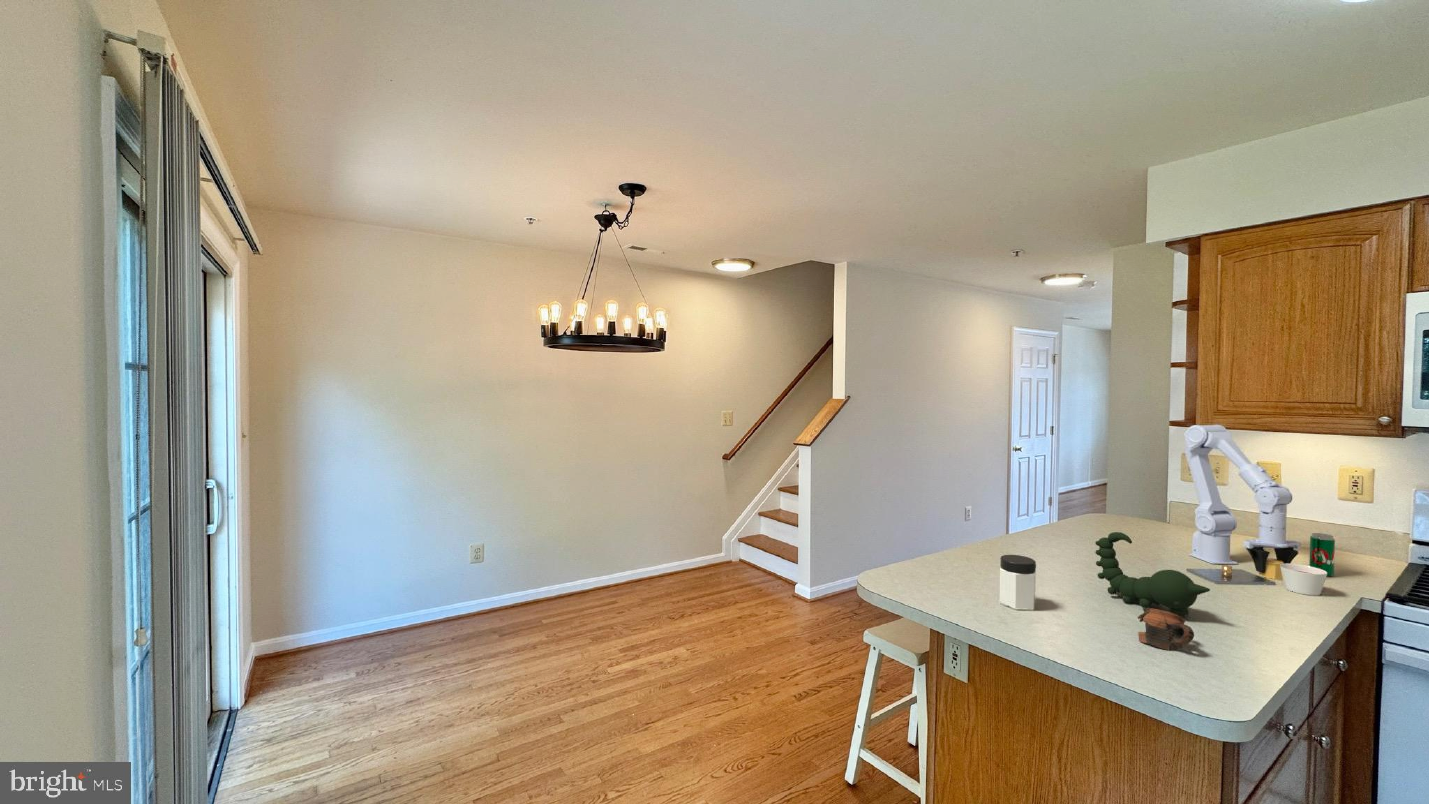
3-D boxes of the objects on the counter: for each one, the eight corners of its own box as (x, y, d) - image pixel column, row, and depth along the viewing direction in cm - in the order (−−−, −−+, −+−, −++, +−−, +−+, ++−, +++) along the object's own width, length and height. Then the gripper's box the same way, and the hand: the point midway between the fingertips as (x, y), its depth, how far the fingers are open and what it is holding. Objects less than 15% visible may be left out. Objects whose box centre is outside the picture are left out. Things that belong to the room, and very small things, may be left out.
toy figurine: (1091, 600, 152) (1201, 629, 130) (1086, 531, 153) (1194, 546, 131) (1113, 595, 156) (1223, 621, 133) (1108, 527, 157) (1216, 542, 134)
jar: (1043, 607, 144) (1044, 561, 143) (1023, 613, 140) (1023, 566, 140) (1012, 596, 152) (1012, 552, 151) (991, 601, 148) (992, 556, 148)
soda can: (1322, 571, 170) (1323, 532, 170) (1339, 577, 165) (1340, 537, 165) (1304, 571, 170) (1305, 532, 170) (1320, 576, 165) (1321, 536, 165)
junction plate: (1186, 571, 171) (1186, 558, 171) (1241, 571, 170) (1241, 559, 170) (1216, 583, 160) (1216, 570, 160) (1275, 584, 159) (1275, 571, 159)
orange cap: (1254, 573, 168) (1254, 557, 168) (1271, 574, 168) (1272, 557, 168) (1269, 579, 163) (1270, 562, 163) (1288, 579, 163) (1288, 562, 163)
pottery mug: (1123, 638, 128) (1129, 603, 130) (1156, 654, 128) (1162, 619, 131) (1175, 648, 116) (1181, 609, 119) (1212, 666, 117) (1216, 627, 119)
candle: (1315, 588, 156) (1316, 566, 156) (1334, 599, 148) (1335, 576, 148) (1272, 583, 160) (1273, 561, 160) (1289, 594, 152) (1289, 571, 152)
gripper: (1258, 530, 162) (1257, 576, 162) (1311, 530, 161) (1310, 577, 161) (1237, 523, 169) (1236, 568, 169) (1288, 524, 168) (1287, 569, 168)
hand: (1271, 572), depth 166 cm, fingers open, 5 cm apart
